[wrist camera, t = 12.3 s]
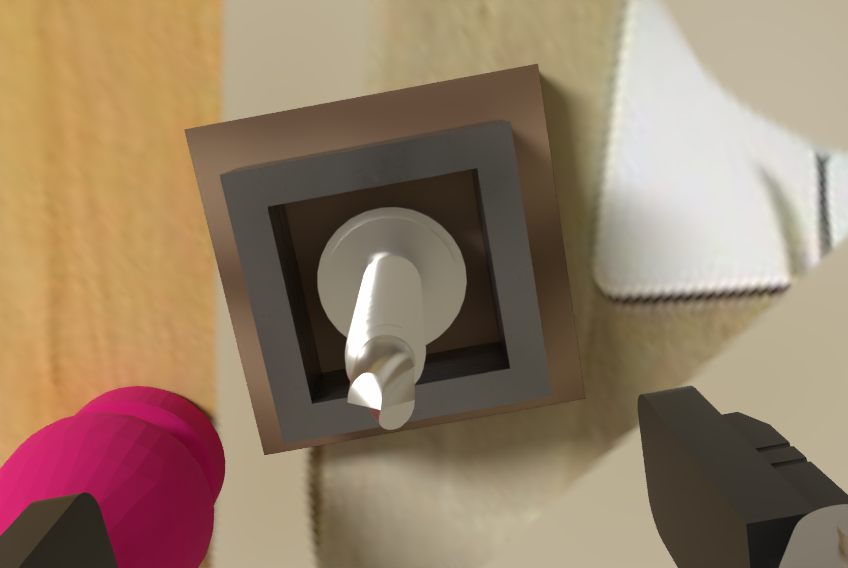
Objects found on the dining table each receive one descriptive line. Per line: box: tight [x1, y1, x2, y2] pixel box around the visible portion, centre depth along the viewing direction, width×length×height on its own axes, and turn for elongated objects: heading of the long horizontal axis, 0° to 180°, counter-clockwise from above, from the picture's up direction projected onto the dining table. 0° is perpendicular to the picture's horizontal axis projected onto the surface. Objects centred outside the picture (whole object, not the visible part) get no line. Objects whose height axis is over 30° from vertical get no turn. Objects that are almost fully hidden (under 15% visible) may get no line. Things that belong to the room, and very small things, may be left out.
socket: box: [219, 119, 552, 444], centre depth 26 cm, size 9×9×3 cm
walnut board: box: [185, 64, 585, 455], centre depth 28 cm, size 12×12×2 cm
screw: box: [317, 206, 467, 430], centre depth 21 cm, size 13×5×5 cm
